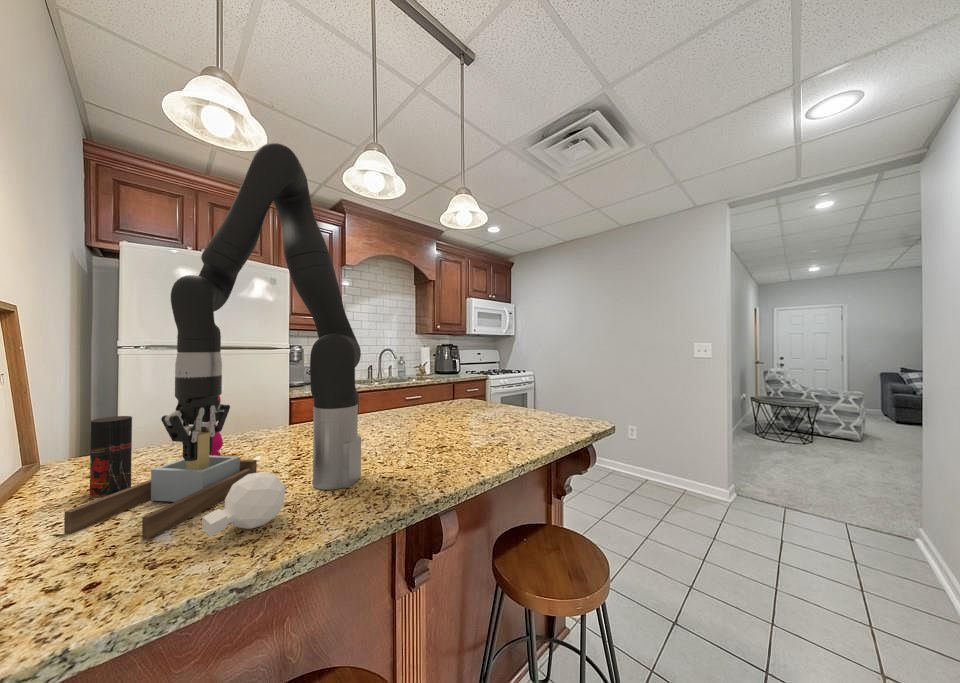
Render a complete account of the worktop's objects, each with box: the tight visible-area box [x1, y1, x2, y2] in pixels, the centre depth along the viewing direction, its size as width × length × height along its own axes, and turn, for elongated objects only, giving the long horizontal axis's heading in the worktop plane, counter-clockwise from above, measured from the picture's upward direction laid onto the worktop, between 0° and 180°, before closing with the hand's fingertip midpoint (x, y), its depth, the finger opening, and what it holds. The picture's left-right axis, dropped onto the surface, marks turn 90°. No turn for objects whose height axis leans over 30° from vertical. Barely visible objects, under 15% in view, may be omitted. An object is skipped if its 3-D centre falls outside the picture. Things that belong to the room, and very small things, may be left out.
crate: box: [150, 432, 241, 503], centre depth 71 cm, size 11×9×12 cm
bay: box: [63, 458, 258, 540], centre depth 66 cm, size 15×23×5 cm
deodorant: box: [89, 415, 133, 498], centre depth 72 cm, size 6×6×15 cm
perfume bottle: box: [201, 471, 286, 537], centre depth 58 cm, size 9×9×12 cm
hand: (198, 457), depth 71 cm, fingers closed on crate, 2 cm apart
